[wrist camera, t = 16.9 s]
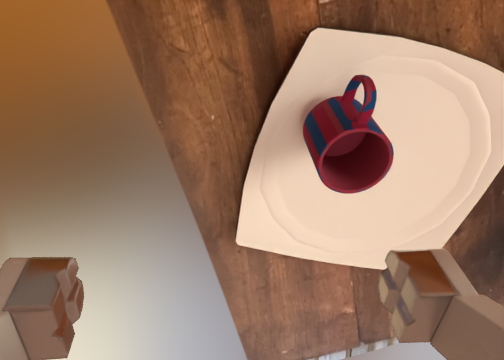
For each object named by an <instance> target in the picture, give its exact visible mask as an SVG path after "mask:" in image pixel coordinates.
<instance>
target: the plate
mask: <svg viewBox="0 0 504 360" xmlns="http://www.w3.org/2000/svg"><path fill="white" fill-rule="evenodd" d="M355 75H366V76H369V77H370V78H371V79H372V80H373V82H374V84H375V87H376V91H377V99H376V105H375V108H374V111H373V114H372V118H373V119H374V120H375V122H376V123H377V124H378V125H379V127H380V128H381V129H382V131H383V132H384V133H385V135H386V136H387V137H388V139H389V140H390V142H391V144H392V146H393V151H394V158H393V162H392V165H391V168H390V170H389V171H388V173H387V174H386V176H385V177H384V178H383V179H382V180H381V181H380V182H379V183H377V184H376V185H374V186H373V187H371V188H369V189H367V190H365V191H362V192H358V193H352V194H345V193H339V192H335V191H333V190H331V189H329V188H328V187H326V186H325V185H324V184H323V182H322V181H321V179H320V177H319V175H318V173H317V170H316V168H315V165H314V163H313V160H312V158H311V155H310V153H309V150H308V148H307V145H306V143H305V141H304V137H303V125H304V122H305V119H306V117H307V115H308V114H309V112H310V111H311V110H312V109H313V108H314V107H315V106H316V105H317V104H319V103H320V102H322V101H324V100H326V99H328V98H331V97H336V96H343V94H344V92H345V89H346V87H347V85H348V84H349V82H350V80H351V79H352V78H353V77H354V76H355ZM354 99H356V100H357V101H359V102H360V103H361V104H362V105H363V102H364V87H363V84H362V83H360V85H359V87H358V89H357V91H356V94H355V97H354ZM503 165H504V73H503V72H501V71H500V70H498V69H496V68H494V67H492V66H490V65H488V64H486V63H484V62H482V61H479V60H476V59H474V58H471V57H468V56H465V55H463V54H460V53H457V52H454V51H452V50H449V49H446V48H443V47H440V46H436V45H432V44H428V43H424V42H420V41H416V40H412V39H408V38H405V37H401V36H396V35H387V34H379V33H370V32H362V31H354V30H345V29H337V28H328V27H320V26H317V27H316V28H314V29H312V30H310V31H309V33H308V35H307V36H306V38H305V40H304V42H303V44H302V46H301V48H300V50H299V51H298V53H297V55H296V57H295V59H294V61H293V63H292V65H291V66H290V68H289V70H288V72H287V74H286V76H285V78H284V80H283V82H282V83H281V85H280V87H279V89H278V91H277V93H276V95H275V97H274V98H273V100H272V102H271V104H270V107H269V109H268V112H267V114H266V117H265V119H264V122H263V124H262V127H261V129H260V132H259V134H258V137H257V139H256V142H255V144H254V148H253V151H252V155H251V159H250V162H249V166H248V170H247V173H246V177H245V181H244V185H243V191H242V198H241V204H240V210H239V217H238V223H237V230H236V236H235V241H236V242H237V244H238V245H240V246H245V247H250V248H255V249H260V250H264V251H269V252H274V253H279V254H283V255H288V256H293V257H298V258H304V259H310V260H316V261H322V262H328V263H335V264H342V265H349V266H357V267H365V268H374V269H384V270H385V269H386V268H387V265H386V263H385V259H386V256H387V254H388V253H389V251H390V250H420V249H424V250H426V249H441V248H442V247H443V246H444V245H445V243H446V242H447V241H448V239H449V238H450V237H451V236H452V234H453V233H454V232H455V231H456V229H457V228H458V227H459V225H460V224H461V223H462V222H463V220H464V219H465V218H466V216H467V215H468V214H469V212H470V211H471V210H472V208H473V207H474V206H475V204H476V203H477V202H478V200H479V199H480V198H481V197H482V195H483V194H484V192H485V191H486V189H487V188H488V187H489V185H490V184H491V182H492V181H493V179H494V178H495V177H496V175H497V174H498V172H499V171H500V169H501V168H502V167H503Z"/></svg>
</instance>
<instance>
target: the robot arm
mask: <svg viewBox="0 0 504 360" xmlns="http://www.w3.org/2000/svg"><path fill="white" fill-rule="evenodd" d="M385 263H386V265H387V268H386V269H385V270H383V271H382V272H381V274H380V277H379V281H378V292H379V296H380V300H381V302H382V304H383V307H384V308H386V309H387V310H388V311H389V312H391V313H392V316H391V318H390V323H391V325H392V328H393V330H394V332H395V334H396V337H397V339H398V341H399V343H411V342H431V343H430V344H431V345H432V346H433V347H435V349H436V350H437V351H438V352H439V353H440V354H442V355H443V356H444V357H445V358H446V359H447V360H504V307H503V306H501V305H500V304H498V303H496V302H495V301H493V300H492V299H490V298H489V297H487V296H485V295H479V294H478V293H477V291H476V290H475V289H474V287H473V286H472V284H471V283H470V281H469V280H468V279H467V277H466V276H465V274H464V273H463V271H462V270H461V269H460V267H459V266H458V264H457V263H456V261H455V260H454V258H453V257H452V256H451V254H450V253H449V252H448V251H447V250H446V249H426V250H424V249H420V250H390V251H389V253H388V254H387V256H386V259H385ZM77 271H78V265H77V261H76V259H75V258H72V257H64V258H63V257H32V258H9V259H8V260H6V261H5V262H4V264H3V265H2V267H1V269H0V360H47V359H61V358H67V357H68V354H69V351H70V348H71V344H72V341H73V338H74V335H75V333H74V329H73V325H72V324H73V323H75V322H76V321H77V320H78V319H79V318H80V315H81V311H82V307H83V300H84V291H83V284H82V281H81V280H80V279H79V278H77V277H76V274H77Z"/></svg>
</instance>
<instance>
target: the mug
mask: <svg viewBox="0 0 504 360" xmlns="http://www.w3.org/2000/svg"><path fill="white" fill-rule="evenodd" d="M360 83H362V84H363V87H364V102H363V105H362V104H361V103H360V102H359V101H357V100H356V99H354V97H355V94H356V91H357V89H358V87H359V85H360ZM376 99H377V91H376V87H375V84H374V82H373V80H372V79H371V78H370V77H369V76H366V75H355V76H354V77H353V78H352V79H351V80H350V82H349V84H348V85H347V87H346V89H345V92H344V94H343V96H336V97H331V98H328V99H326V100H324V101H322V102H320V103H319V104H317V105H316V106H315V107H314V108H313V109H312V110H311V111H310V112H309V114H308V115H307V117H306V119H305V122H304V125H303V137H304V141H305V143H306V145H307V148H308V150H309V153H310V155H311V158H312V160H313V163H314V165H315V168H316V170H317V173H318V175H319V177H320V179H321V181H322V182H323V184H324V185H325V186H326V187H328V188H329V189H331V190H333V191H335V192H339V193H345V194H352V193H358V192H362V191H365V190H367V189H369V188H371V187H373V186H374V185H376V184H377V183H379V182H380V181H381V180H382V179H383V178H384V177H385V176H386V174H387V173H388V171H389V170H390V168H391V165H392V162H393V158H394V151H393V146H392V144H391V142H390V140H389V139H388V137H387V136H386V135H385V133H384V132H383V131H382V129H381V128H380V127H379V125H378V124H377V123H376V122H375V120H374V119H373V118H372V114H373V111H374V108H375V105H376Z"/></svg>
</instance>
